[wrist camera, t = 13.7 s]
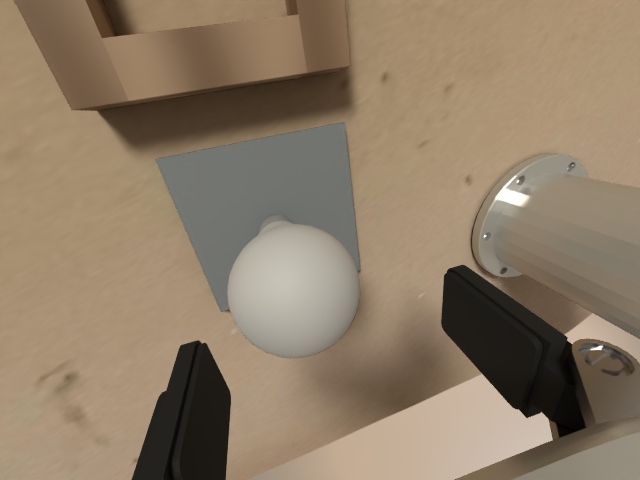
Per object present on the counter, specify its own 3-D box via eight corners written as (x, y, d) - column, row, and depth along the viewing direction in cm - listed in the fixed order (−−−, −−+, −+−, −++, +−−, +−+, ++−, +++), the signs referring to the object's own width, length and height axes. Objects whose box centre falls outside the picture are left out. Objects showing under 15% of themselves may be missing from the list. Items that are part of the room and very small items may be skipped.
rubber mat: (341, 122, 19) (344, 122, 18) (357, 267, 24) (360, 270, 24) (158, 158, 17) (155, 160, 16) (221, 307, 22) (220, 311, 22)
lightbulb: (301, 269, 22) (350, 391, 12) (223, 255, 20) (208, 392, 10) (326, 199, 20) (409, 277, 10) (243, 174, 18) (249, 246, 8)
